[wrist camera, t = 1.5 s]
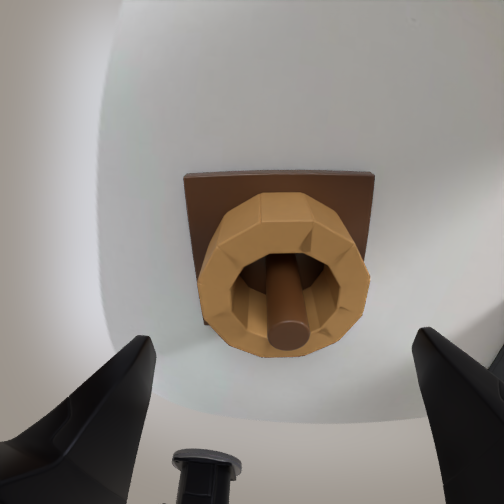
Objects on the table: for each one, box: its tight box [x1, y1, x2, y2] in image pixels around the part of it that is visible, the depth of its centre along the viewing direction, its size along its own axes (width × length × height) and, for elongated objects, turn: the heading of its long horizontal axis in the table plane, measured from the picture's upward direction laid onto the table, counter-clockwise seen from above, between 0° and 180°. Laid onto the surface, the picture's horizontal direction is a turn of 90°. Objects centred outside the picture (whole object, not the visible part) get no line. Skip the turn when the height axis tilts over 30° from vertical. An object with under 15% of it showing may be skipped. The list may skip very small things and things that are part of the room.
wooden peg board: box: [183, 170, 375, 351], centre depth 12 cm, size 8×8×6 cm
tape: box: [197, 192, 370, 358], centre depth 12 cm, size 6×6×3 cm
